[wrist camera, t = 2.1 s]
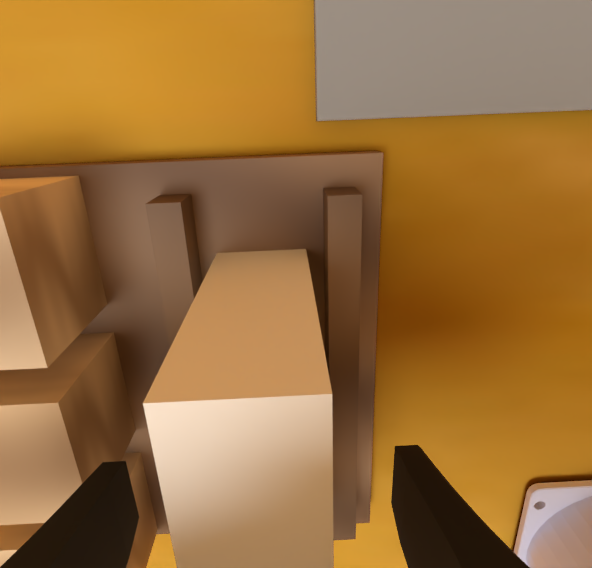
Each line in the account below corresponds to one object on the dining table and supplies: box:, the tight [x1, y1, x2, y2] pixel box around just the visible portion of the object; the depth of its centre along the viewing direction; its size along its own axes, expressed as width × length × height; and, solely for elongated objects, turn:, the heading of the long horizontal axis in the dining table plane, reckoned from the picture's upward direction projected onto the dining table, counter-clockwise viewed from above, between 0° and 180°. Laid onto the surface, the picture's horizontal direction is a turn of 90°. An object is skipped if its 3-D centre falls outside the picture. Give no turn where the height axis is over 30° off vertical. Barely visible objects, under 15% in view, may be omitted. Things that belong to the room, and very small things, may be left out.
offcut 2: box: [0, 452, 158, 568], centre depth 16 cm, size 4×4×4 cm
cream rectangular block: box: [143, 249, 334, 568], centre depth 12 cm, size 10×3×8 cm, turn 2°
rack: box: [0, 151, 383, 540], centre depth 16 cm, size 16×14×2 cm
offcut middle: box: [0, 333, 136, 525], centre depth 14 cm, size 4×4×4 cm
